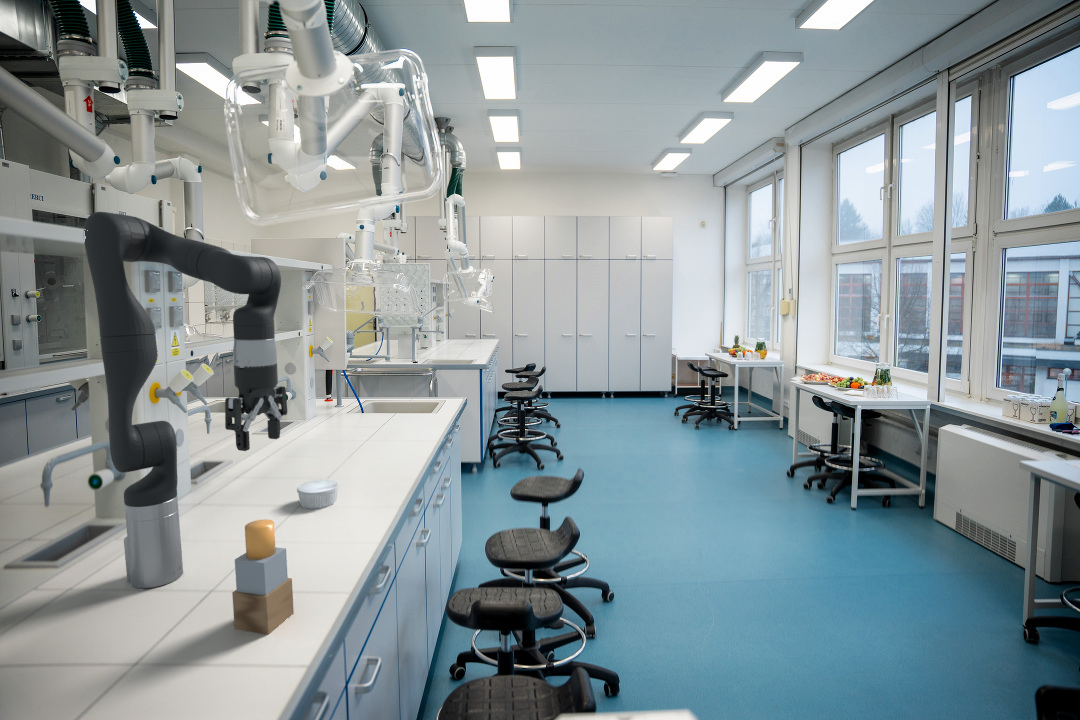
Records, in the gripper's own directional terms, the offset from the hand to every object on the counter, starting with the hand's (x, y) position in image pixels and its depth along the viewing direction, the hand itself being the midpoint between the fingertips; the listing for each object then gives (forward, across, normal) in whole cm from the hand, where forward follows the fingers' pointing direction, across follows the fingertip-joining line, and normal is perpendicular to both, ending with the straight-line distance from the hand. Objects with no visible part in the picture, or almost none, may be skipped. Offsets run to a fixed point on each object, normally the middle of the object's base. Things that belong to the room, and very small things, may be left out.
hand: (259, 444), depth 115 cm
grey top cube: (+23, +10, +7) cm, 26 cm away
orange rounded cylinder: (+17, +9, +7) cm, 21 cm away
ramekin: (+32, -46, -19) cm, 59 cm away
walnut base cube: (+30, +10, +8) cm, 33 cm away
